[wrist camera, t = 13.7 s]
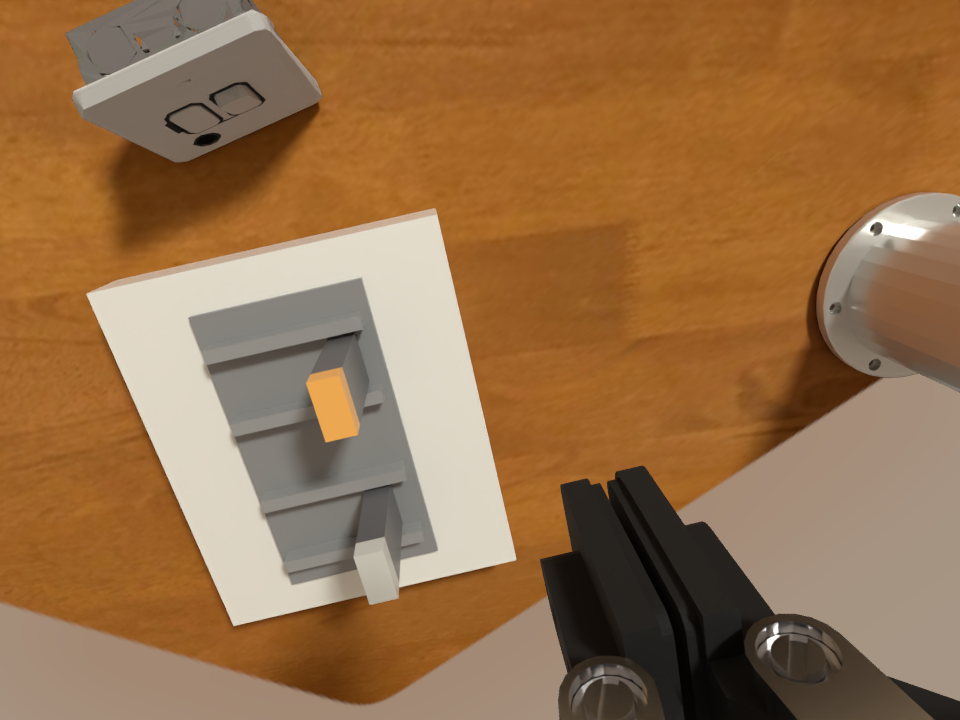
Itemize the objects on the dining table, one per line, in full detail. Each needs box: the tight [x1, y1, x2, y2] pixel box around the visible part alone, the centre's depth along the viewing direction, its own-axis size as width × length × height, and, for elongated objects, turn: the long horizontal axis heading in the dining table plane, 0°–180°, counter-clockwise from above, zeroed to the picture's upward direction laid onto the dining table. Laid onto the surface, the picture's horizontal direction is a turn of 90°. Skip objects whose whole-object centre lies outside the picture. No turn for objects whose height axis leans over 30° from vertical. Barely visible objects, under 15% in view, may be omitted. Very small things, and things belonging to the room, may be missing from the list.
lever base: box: [87, 208, 516, 626], centre depth 37 cm, size 20×24×11 cm
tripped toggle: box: [306, 332, 370, 442], centre depth 33 cm, size 2×3×7 cm, turn 12°
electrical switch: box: [66, 0, 322, 162], centre depth 31 cm, size 9×5×9 cm, turn 113°
